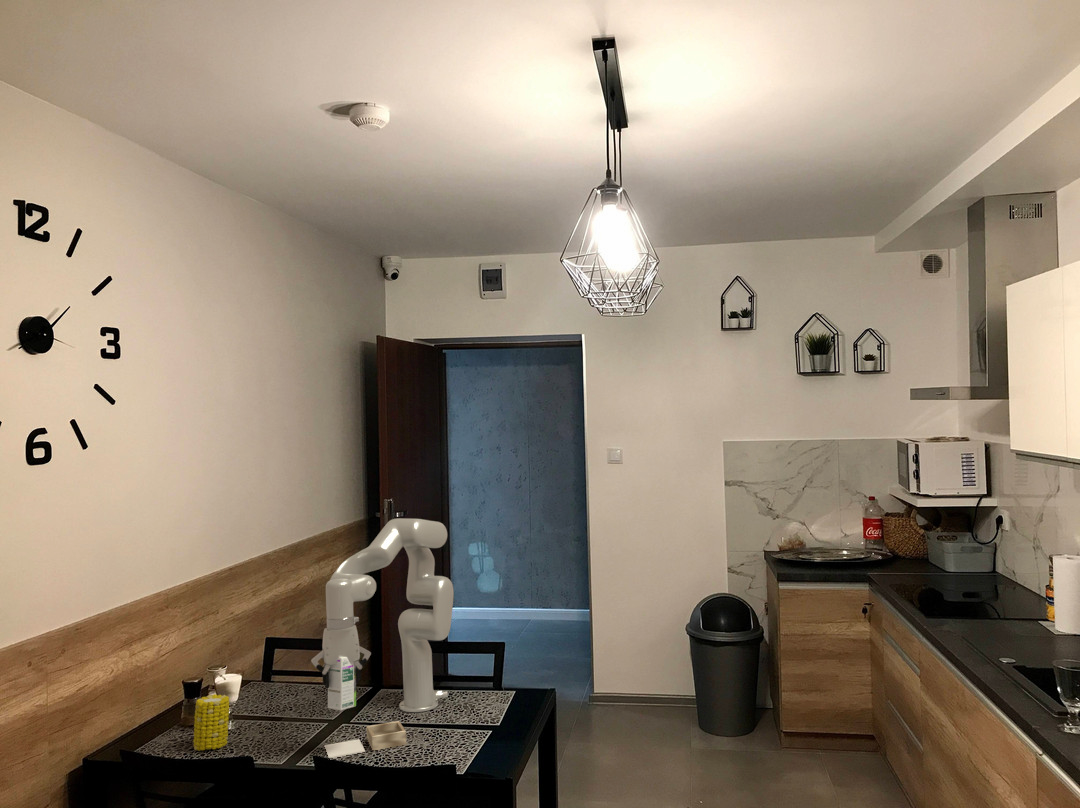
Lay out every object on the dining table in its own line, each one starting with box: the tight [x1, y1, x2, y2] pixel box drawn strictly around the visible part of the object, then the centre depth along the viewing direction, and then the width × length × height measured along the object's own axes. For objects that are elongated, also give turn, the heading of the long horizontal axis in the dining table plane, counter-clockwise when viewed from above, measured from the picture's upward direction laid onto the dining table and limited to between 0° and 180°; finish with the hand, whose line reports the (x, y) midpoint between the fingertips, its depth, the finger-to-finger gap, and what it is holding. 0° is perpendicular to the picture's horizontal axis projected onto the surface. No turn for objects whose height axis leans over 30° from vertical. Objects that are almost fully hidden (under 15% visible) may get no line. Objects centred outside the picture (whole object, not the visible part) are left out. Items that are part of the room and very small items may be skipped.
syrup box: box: [327, 657, 357, 711], centre depth 237 cm, size 6×6×14 cm
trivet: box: [323, 738, 366, 760], centre depth 237 cm, size 10×10×1 cm
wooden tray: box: [366, 720, 407, 751], centre depth 241 cm, size 10×10×4 cm
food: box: [192, 693, 230, 751], centre depth 245 cm, size 15×12×10 cm
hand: (342, 684), depth 237 cm, fingers closed on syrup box, 8 cm apart
